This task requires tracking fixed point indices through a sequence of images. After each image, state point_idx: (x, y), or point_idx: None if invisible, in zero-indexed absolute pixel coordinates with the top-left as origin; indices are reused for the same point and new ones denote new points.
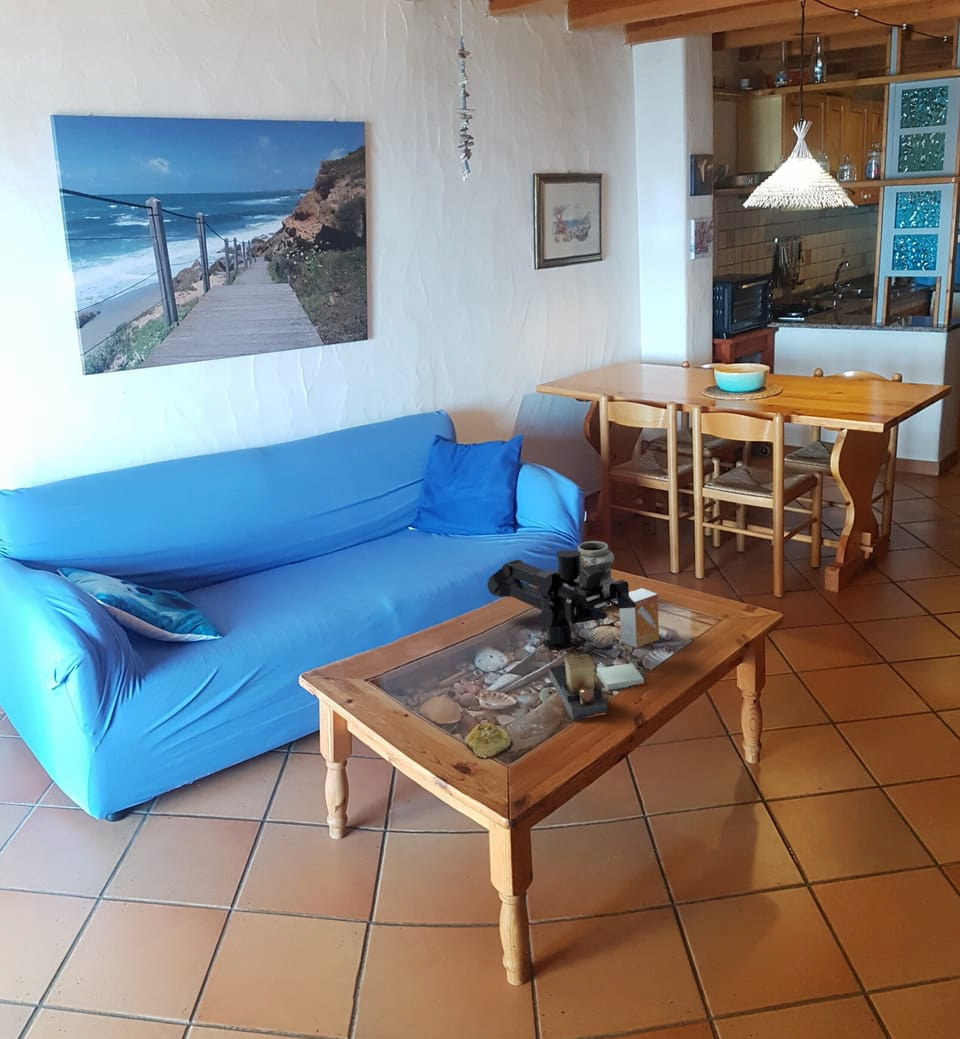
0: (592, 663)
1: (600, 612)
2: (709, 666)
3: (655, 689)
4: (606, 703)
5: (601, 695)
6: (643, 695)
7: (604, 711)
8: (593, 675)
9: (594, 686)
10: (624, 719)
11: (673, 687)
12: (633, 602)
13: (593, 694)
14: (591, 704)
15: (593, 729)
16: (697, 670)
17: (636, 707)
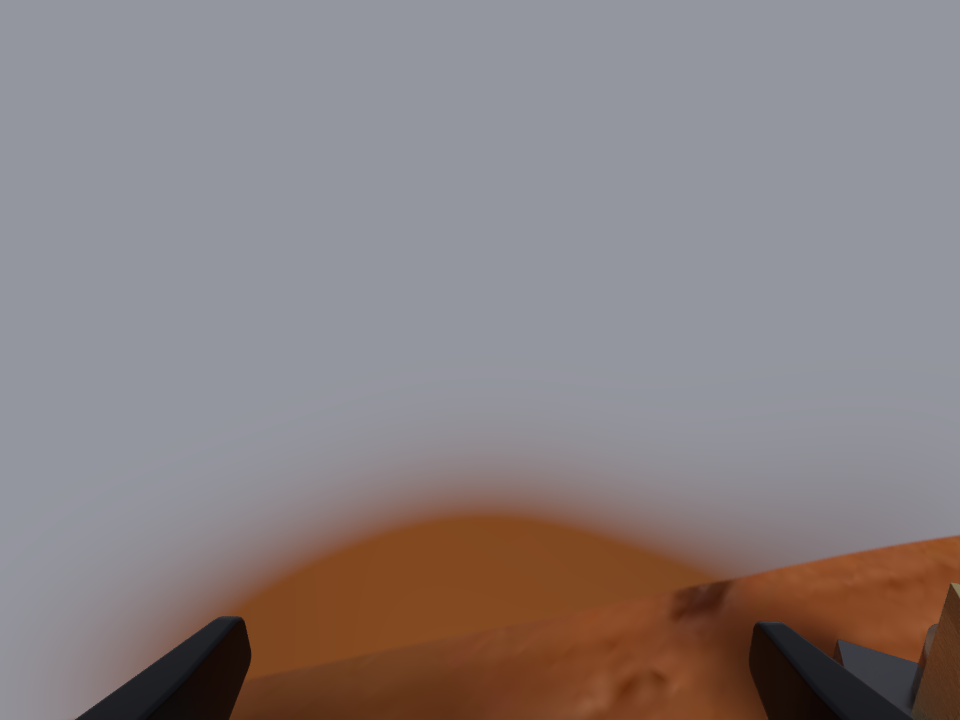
0: (953, 592)
1: (860, 680)
2: None
3: (512, 709)
4: (838, 641)
5: None
6: (592, 705)
7: None
8: (930, 657)
9: (911, 712)
10: (757, 620)
11: (444, 669)
12: (217, 628)
13: (922, 649)
14: None
15: (912, 641)
16: (238, 707)
17: (674, 652)
